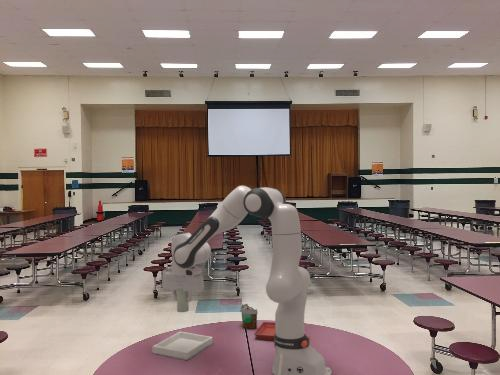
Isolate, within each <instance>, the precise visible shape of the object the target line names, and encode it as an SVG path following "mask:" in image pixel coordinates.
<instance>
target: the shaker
mask: <svg viewBox="0 0 500 375" xmlns="http://www.w3.org/2000/svg"><path fill="white" fill-rule="evenodd" d="M188 296H189V294H188V292H185V291H183V285H177V300H176V310H177V311H176V312H178V313H187V312H189V310H190V308H189V306H190V305H189V303H190V302H187V301H186V298H187V297H188Z"/></svg>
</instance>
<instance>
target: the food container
mask: <svg viewBox="0 0 500 375" xmlns="http://www.w3.org/2000/svg"><path fill="white" fill-rule="evenodd" d="M239 312H240V313H241V321H242V322H241V323H242V328H243V329H245V330H257V329H258V328H257V326H258V309H254V308H253V306H252V307H251V306H249V304H248V303H245V304H242V305H241V306H240V310H239Z"/></svg>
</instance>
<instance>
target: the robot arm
mask: <svg viewBox="0 0 500 375" xmlns="http://www.w3.org/2000/svg"><path fill="white" fill-rule="evenodd" d="M248 214H249V215H251V216H254V217H257V218H261V219H264V220H266V219H268V220H269V221H270V223H271V239H272V242H271V243H272V245H271V246H272V257H271V258H272V260H271V266H270V273H269V276H268V280H267V282H266V285H265V293H266V295H267V297H268V298H269V299H270V300H271V301H272V302H273V303H276V304H278V305H277V308H276V310H275V313H274V314H275V315H274V317H275V318H274V319H275V320H274V323H275V334H274V340H273V342H274V348H275V349H274V358H273V363H272V368H271V373H272V374H273V375H332V374H331V373H332V370H331V368H330V367H328V366H326V362H325V358H324V356H323V354H321V353H320V352H319V351H317V349H315V348H314V347H313V346H312V345H311V344H310V340H311V335H309V336H307V335H306V333H305V313H306V304H307V299H308V297H307V296H308V290H309V286H310V284H311V275H310V272H309V271H308V270H307V269H306V268H304V267H303V266H299V265H300V260H301V257H302V254H303V248H302V233H301V232H302V228H301V223H300V216H299V213H298V209H297V208H296V207H295V206H294V205H292V204H290V203H287V199H286V195H285V193H284V192H283V191H282V190H280V189H278V188H275V187H266V186H265V187H256V188H251V187H248V186H247V185H238V186H237V187H236V188H234V189H233V190H232V191H230V193H228V195H227V196H226V197H225V198H224V199H223V200H222V201H221V203H220V204H219V206H218V207H217V208H216V209H214V211H213V212H212V213H211V215H210V216H209V217H208V218H207V219H206V220H205V221H204V222H203V223H202V224H200V226H198V228H196V230H195V231H194V232H193V233H192V234H191V233H190V232H189V231H188V232H187V231H186V232H180V233H176V234H174V235H173V236H172V238H171V256H172V259H171V267H170V268H169V267H165V268H164V269H163V270H162V279H161V280H162V281H161V287H162V289H163V290H171V294H172V295H173V297H174V298H173V301H177V285H183V291H185V292H188V297H187V298H186V301H187V302H189V303H190V302H192V297H193V295H194V293H196V294H199V293H202V292H203V291H204V288H205V286H204V285H205V284H204V283H205V282H204V276H203V275H202V273H203V269H202V268H201V267H199V266H196V265H200V264H202V263H205V262H207V261H209V260H210V259H211V256H212V248H211V246H210V244H209V241H210V239H212V238H213V237H215V236H216V235H218V234H221V233H223V232H227V231H230V230H233V229H234V228H235V227H236V226H238V225H239V224H240V223H241V222H242V221H243V220H244V219H245V217H246V216H247V215H248Z"/></svg>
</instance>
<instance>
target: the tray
mask: <svg viewBox="0 0 500 375" xmlns="http://www.w3.org/2000/svg"><path fill="white" fill-rule="evenodd" d="M212 345H214V338H213V336H210V335H203V334H196V333H190V332H184V331H178V332H176V333H175V334H173V335H170V336H169V337H167V338H165V339H163V340H161V341H159V342H158V343H156V344H154V345H153V346H151V347H152V348H151V350H152V354H155V355H160V356H165V357H168V358H174V359H179V360H184V361H189V360H190V359H192V358H194V357H195V356H196V355H198V354H200V353H201V352H203V351H204V350H205V349H207V348H208V347H210V346H212Z"/></svg>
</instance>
